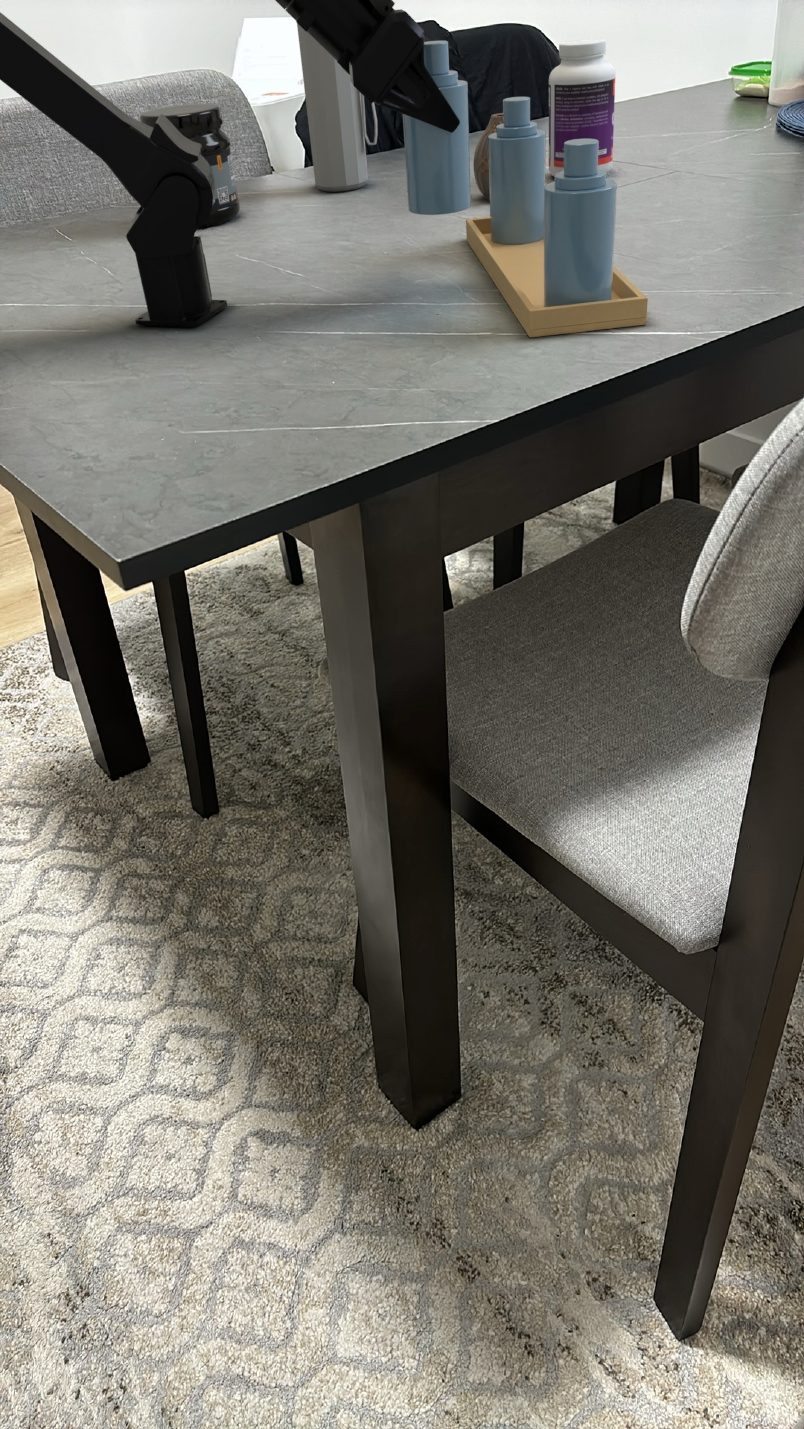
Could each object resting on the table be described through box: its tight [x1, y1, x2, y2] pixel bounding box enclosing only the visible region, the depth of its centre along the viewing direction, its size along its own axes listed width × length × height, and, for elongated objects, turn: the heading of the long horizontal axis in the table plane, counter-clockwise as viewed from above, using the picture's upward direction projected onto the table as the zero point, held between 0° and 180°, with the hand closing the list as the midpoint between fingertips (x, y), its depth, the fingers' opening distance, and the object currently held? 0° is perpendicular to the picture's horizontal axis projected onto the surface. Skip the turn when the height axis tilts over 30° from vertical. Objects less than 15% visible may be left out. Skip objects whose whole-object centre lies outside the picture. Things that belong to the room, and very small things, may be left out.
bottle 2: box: [543, 139, 618, 307], centre depth 82 cm, size 6×6×12 cm
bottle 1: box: [488, 96, 547, 245], centre depth 103 cm, size 6×6×12 cm
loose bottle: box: [402, 40, 472, 216], centre depth 89 cm, size 6×6×12 cm
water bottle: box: [296, 22, 378, 193], centre depth 130 cm, size 9×8×25 cm
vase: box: [473, 112, 503, 201], centre depth 123 cm, size 7×7×9 cm
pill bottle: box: [548, 38, 616, 177], centre depth 128 cm, size 8×8×14 cm
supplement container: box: [139, 103, 241, 229], centre depth 125 cm, size 10×10×12 cm
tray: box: [465, 216, 649, 338], centre depth 96 cm, size 34×10×2 cm, turn 6°
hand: (451, 122), depth 89 cm, fingers closed on loose bottle, 5 cm apart
